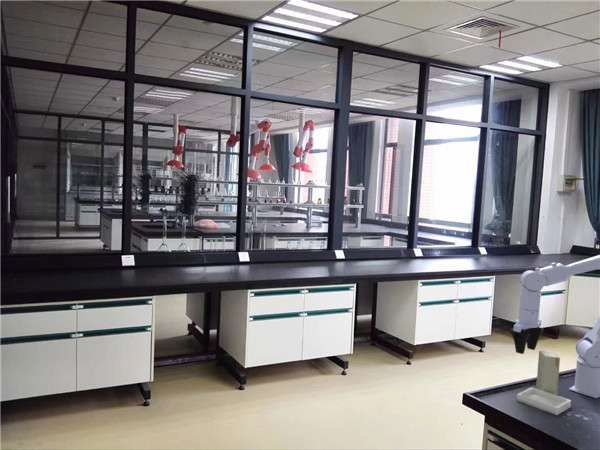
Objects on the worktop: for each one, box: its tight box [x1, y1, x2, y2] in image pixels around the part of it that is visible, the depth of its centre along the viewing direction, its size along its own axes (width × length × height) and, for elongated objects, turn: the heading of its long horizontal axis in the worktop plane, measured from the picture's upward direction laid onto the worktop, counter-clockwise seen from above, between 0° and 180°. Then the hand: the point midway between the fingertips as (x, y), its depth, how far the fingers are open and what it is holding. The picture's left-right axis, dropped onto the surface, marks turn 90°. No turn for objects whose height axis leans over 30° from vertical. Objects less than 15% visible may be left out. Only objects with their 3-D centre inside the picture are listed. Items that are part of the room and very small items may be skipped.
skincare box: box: [535, 350, 561, 396], centre depth 149 cm, size 6×4×12 cm
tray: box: [516, 386, 572, 416], centre depth 142 cm, size 9×11×2 cm
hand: (525, 351), depth 156 cm, fingers open, 7 cm apart
